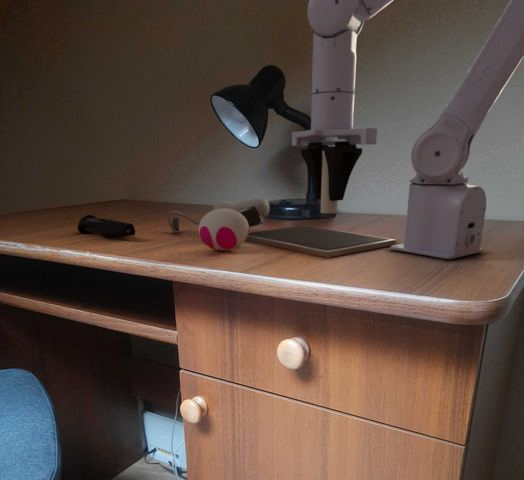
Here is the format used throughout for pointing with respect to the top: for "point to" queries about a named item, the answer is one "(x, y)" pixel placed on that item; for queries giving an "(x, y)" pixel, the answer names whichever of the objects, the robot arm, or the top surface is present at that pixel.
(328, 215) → the beige cylinder
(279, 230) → the tablet
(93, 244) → the top surface
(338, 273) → the top surface
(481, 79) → the robot arm
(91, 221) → the electric trimmer
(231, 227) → the stress ball
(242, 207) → the white corded device
